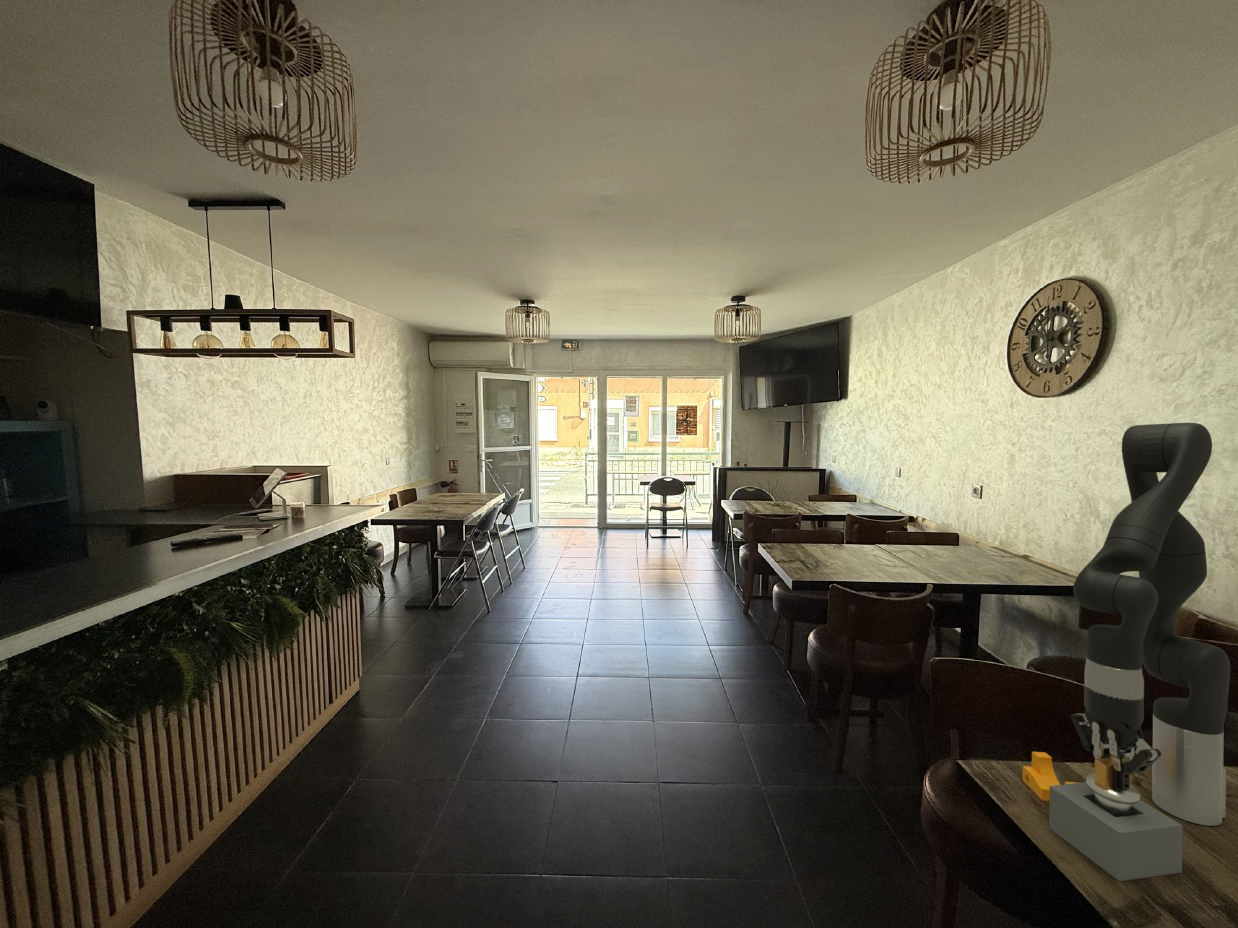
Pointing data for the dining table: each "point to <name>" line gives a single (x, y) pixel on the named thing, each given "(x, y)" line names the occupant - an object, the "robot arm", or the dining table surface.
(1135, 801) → the end cover
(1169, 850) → the bearing housing
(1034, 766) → the pipe clamp
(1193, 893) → the dining table surface
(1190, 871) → the dining table surface
